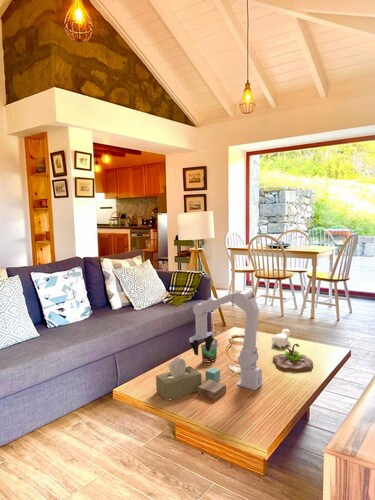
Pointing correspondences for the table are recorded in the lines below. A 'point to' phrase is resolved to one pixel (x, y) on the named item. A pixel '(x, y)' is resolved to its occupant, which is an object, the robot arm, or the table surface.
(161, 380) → the tissue box
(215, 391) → the walnut block
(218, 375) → the teal cube
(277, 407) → the table surface
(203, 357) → the food container
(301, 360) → the plant
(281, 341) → the white animal figurine
